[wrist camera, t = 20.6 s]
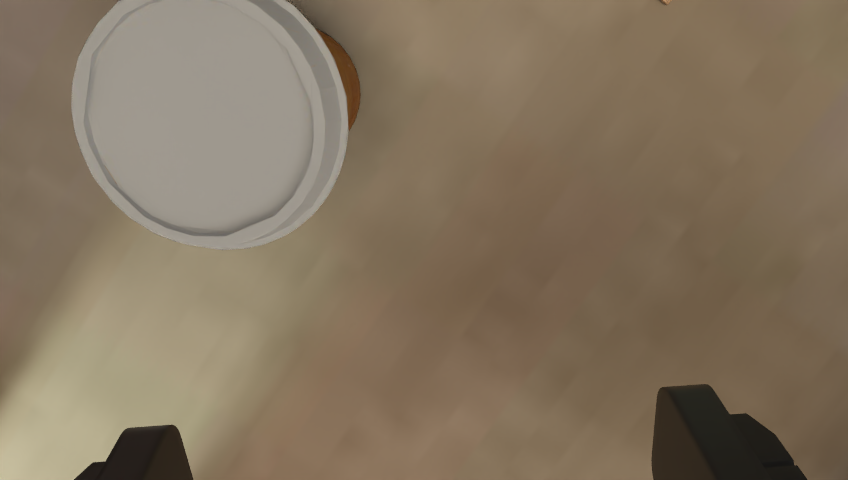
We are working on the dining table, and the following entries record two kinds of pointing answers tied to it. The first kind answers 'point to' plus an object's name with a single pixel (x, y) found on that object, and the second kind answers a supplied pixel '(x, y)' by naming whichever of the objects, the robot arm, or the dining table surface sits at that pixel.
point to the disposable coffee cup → (214, 117)
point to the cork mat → (665, 1)
